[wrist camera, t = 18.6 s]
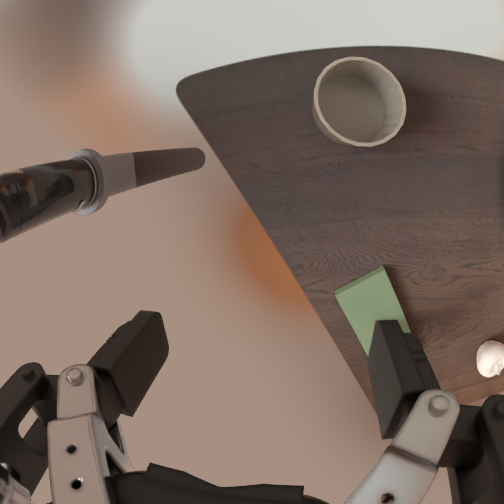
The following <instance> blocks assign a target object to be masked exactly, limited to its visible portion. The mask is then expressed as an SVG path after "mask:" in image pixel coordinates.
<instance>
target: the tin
mask: <svg viewBox="0 0 504 504" xmlns="http://www.w3.org/2000/svg"><path fill="white" fill-rule="evenodd" d="M312 114H313V117H314V120H315V122H316V125H317V126H318V128H319V129H320V130H321V132H322V133H323V134H324V135H325V136H327V137H328V138H329V139H331V140H332V141H334V142H336V143H338V144H341V145H344V146H358V147H372V146H376V145H379V144H383V143H386V142H387V141H388V140H390V139H391V138H393V137H394V136H395V135H396V134H397V133H398V131H399V130H400V128H401V127H402V125H403V123H404V119H405V115H406V98H405V95H404V92H403V90H402V87H401V85H400V83H399V82H398V80H397V79H396V78H395V76H394V75H393V74H392V73H391V72H390V71H389V70H388V69H386V68H385V67H384V66H382V65H381V64H380V63H378V62H375V61H373V60H370V59H367V58H364V57H346V58H342V59H338V60H336V61H334V62H333V63H331V64H330V65H328V66H327V67H326V68H325V69H324V70H323V71H322V73H321V74H320V76H319V77H318V79H317V82H316V86H315V89H314V93H313V98H312Z"/></svg>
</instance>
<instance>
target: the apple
mask: <svg viewBox="0 0 504 504" xmlns="http://www.w3.org/2000/svg"><path fill="white" fill-rule="evenodd" d="M477 368H478V371H479V372H480V374H481V375H483V376H485V377H492V376H494V375H496V374H498V375H499V374H500V371H501V370H502V369H503V368H504V345H503V344H502V343H500V342H497V341H493V340H489V341H486V342H485V343H483V344H482V345H481V346H480V347H479V349H478V351H477Z"/></svg>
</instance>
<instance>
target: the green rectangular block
mask: <svg viewBox="0 0 504 504" xmlns="http://www.w3.org/2000/svg"><path fill="white" fill-rule="evenodd" d="M334 293H335V297H336V299H337V300H338V302H339V304H340V306H341V307H342V309H343V311H344V313H345V315H346V316H347V318H348V320H349V322H350V324H351V325H352V327H353V329H354V331H355V333H356V335H357V336H358V338H359V340H360V342H361V344H362V346H363V348H364V349H365V351H366V353H367V355H369V350H370V346H371V341H372V332H373V327H374V321H375V320H395V319H396V320H398V322H399V324H400V327H401V329H402V331H403V333H409V332H410V333H411V331H410V329H409V326H408V323H407V321H406V318H405V316H404V313H403V311H402V308H401V306H400V303H399V301H398V299H397V296H396V294H395V292H394V289H393V287H392V285H391V282H390V280H389V278H388V276H387V273H386V271H385V269H384V268H383V266H381V267H379V268H377V269H375V270H373V271H372V272H370V273H368V274H366V275H364V276H362V277H360V278H358V279H356V280H355V281H353V282H351V283H349V284H347V285H345V286H343V287H341V288H339V289H337V290H335V291H334Z"/></svg>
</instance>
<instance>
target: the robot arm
mask: <svg viewBox="0 0 504 504" xmlns="http://www.w3.org/2000/svg"><path fill="white" fill-rule="evenodd" d="M97 192H98V177H97V173H96V170H95V168H94V166H93V165H92V163H91V162H90V161H89V160H87V159H86V158H83V157H74V158H71V159H65V160H59V161H54V162H49V163H43V164H38V165H34V166H29V167H24V168H20V169H16V170H12V171H8V172H4V173H0V243H4V242H7V241H9V240H11V239H13V238H15V237H17V236H19V235H21V234H24V233H26V232H28V231H30V230H32V229H35V228H37V227H39V226H41V225H44V224H46V223H48V222H51V221H53V220H55V219H58V218H60V217H63V216H65V215H68V214H70V213H73V212H75V211H76V212H75V213H77V212H79V210H82V209H85V208H87V207H89V206H90V205H91V204H92V203H93V202H94V200H95V198H96V195H97ZM168 351H169V345H168V341H167V337H166V332H165V329H164V324H163V320H162V316H161V314H160V313H159V312H153V311H143V310H141V311H139V312H138V313H137V315H136V316H135V317H134V318H133V319H132V320H131V321H128V322H127V323H125V324H124V325H122V326H120V327H119V328H118V329H117V330H116V331H115V332H114V333H113V335H112V337H110V338H109V339H108V340H107V341H106V343H104V345H103V346H102V347H101V348H100V349H99V350H98V351H97V352H96V354H95V355H94V356H93V357H92V358H91V360H90V361H89V362H88V363H87V364H86V365H85V364H76V365H72V366H70V367H68V368H66V369H65V370H63V371H62V373H61V374H60V375H46V373H45V371H44V369H43V368H42V366H41V365H40V364H39V363H34V362H32V363H27V364H25V365H23V366H21V367H20V368H19V369H18V370H17V371H16V372H15V373H14V374H13V375H12V376H11V377H10V378H9V380H8V381H7V382H6V383H5V384H4V385H3V386H2V388H1V389H0V504H33V503H31V496H32V494H33V492H34V490H35V489H36V487H37V485H38V483H39V481H40V480H41V478H42V476H43V474H44V473H45V471H46V469H47V467H48V466H49V477H50V487H51V494H52V502H50V503H47V504H329V503H327V502H325V501H323V500H321V499H318V498H315V497H312V496H308V495H304V494H303V490H304V486H292V485H271V484H258V485H248V486H235V487H219V486H216V485H213V484H211V483H208V482H206V481H204V480H201V479H199V478H197V477H195V476H193V475H190V474H188V473H186V472H184V471H180V470H175V469H172V468H168V467H164V466H160V465H157V464H153V463H150V464H149V466H148V468H147V470H146V471H135V470H134V468H133V466H132V464H131V462H130V459H129V456H128V453H127V449H126V445H125V441H124V437H123V433H122V429H121V425H120V422H119V420H118V417H119V416H120V414H124V415H127V416H131V417H133V415H134V413H135V411H136V410H137V408H138V406H139V405H140V403H141V401H142V400H143V398H144V396H145V394H146V393H147V391H148V389H149V388H150V386H151V384H152V383H153V381H154V379H155V377H156V376H157V374H158V372H159V371H160V369H161V367H162V366H163V364H164V362H165V361H166V359H167V356H168ZM423 351H424V350H423V348H422V346H421V344H420V342H419V340H418V339H417V338H415V337H414V336H413V335H412V334H411V333H410V332H409V333H403V331H402V329H401V327H400V324H399V322H398V320H396V319H395V320H377V321H376V323H375V326H374V331H373V336H372V341H371V346H370V350H369V355H368V370H369V374H370V379H371V384H372V388H373V393H374V398H375V403H376V409H377V414H378V419H379V424H380V431H381V437H382V439H391V438H392V439H393V441H392V443H391V444H390V446H388V447H387V449H386V450H385V452H384V453H383V454H382V456H381V457H380V458H379V460H378V461H377V463H376V464H375V465H374V467H373V468H372V469H371V471H370V472H369V473H368V475H367V476H366V477H365V478H364V480H363V481H362V482H361V483H360V485H359V486H358V487H357V488H356V490H355V491H354V492H353V493H352V494H351V495H350V497H349V498H348V499H347V500H346V501H345V502H344V503H343V504H420V503H421V502H422V500H423V498H424V497H425V495H426V493H427V491H428V490H429V488H430V486H431V484H432V482H433V480H434V478H435V476H436V474H437V472H438V469H439V467H447V471H448V476H449V482H450V489H451V496H452V504H504V395H500V394H496V395H492V396H490V397H488V398H487V399H486V400H485V402H484V404H483V405H482V406H468V405H460V404H459V402H458V400H457V399H456V398H455V396H454V395H452V394H451V393H449V392H448V391H445V390H442V389H441V388H440V386H439V384H438V381H437V379H436V377H435V374H434V372H433V370H432V368H431V365H430V363H429V361H427V357H426V354H425V352H423ZM31 408H32V409H33V411H34V412H35V414H36V415H37V416H38V418H37V419H36V421H35V422H34V424H33V425H32V426H31V428H30V429H29V430H28V432H27V433H26V435H25V436H24V438H23V439H22V438H21V436H20V435H19V432H18V427H19V424H20V422H21V421H22V419H23V418H24V417H25V415H26V414H27V413H28V411H29V410H30V409H31Z"/></svg>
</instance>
